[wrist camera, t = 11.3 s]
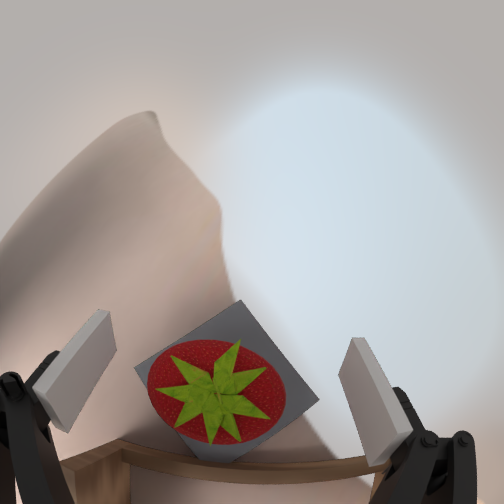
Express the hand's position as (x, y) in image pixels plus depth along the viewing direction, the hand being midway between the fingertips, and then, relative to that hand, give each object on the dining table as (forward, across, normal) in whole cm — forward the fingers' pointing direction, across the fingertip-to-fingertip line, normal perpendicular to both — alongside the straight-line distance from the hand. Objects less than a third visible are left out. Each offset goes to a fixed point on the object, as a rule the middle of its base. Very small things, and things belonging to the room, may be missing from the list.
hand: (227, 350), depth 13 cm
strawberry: (+3, 0, -6) cm, 7 cm away
